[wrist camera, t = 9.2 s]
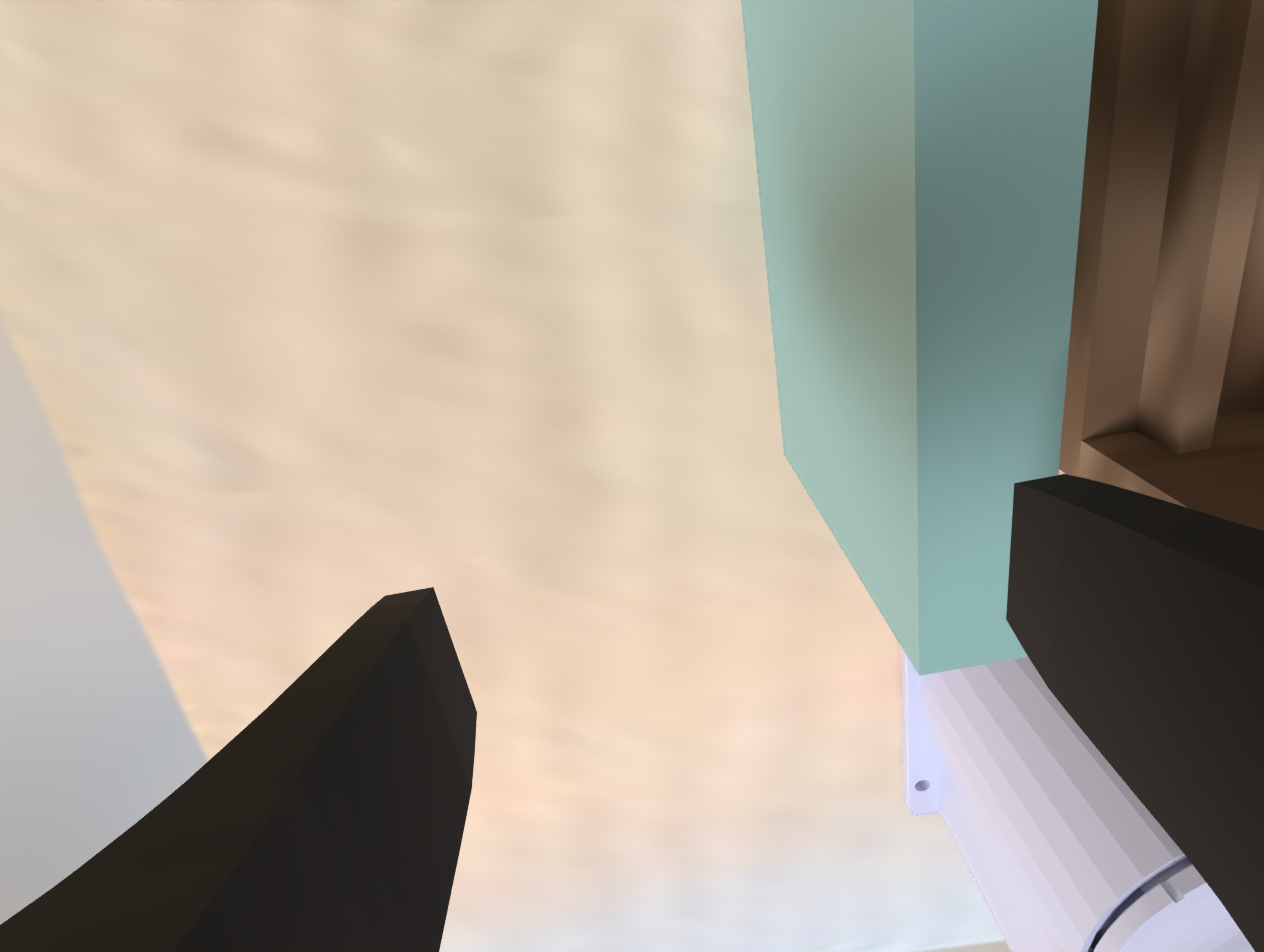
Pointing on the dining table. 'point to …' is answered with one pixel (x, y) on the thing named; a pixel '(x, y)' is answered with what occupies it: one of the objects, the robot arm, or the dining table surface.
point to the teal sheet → (922, 282)
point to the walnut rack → (1172, 259)
